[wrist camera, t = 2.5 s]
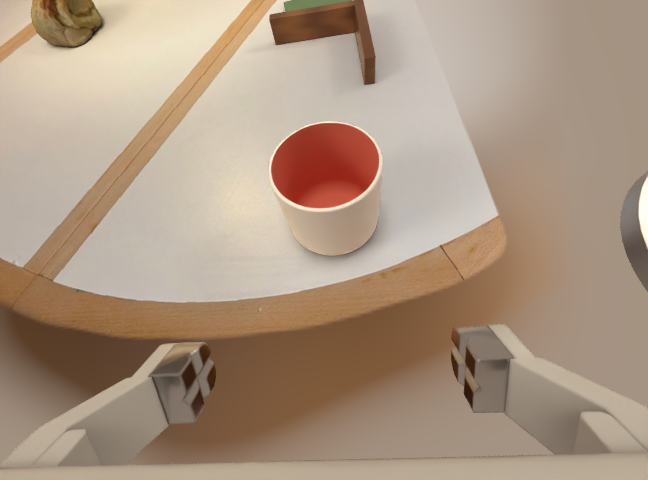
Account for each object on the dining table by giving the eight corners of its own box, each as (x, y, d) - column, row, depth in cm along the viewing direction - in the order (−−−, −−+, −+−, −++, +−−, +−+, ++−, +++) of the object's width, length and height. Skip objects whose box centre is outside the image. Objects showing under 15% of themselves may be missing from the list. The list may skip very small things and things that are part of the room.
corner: (363, 25, 51) (362, -2, 47) (374, 83, 44) (375, 56, 41) (276, 39, 52) (269, 14, 49) (274, 97, 46) (266, 73, 42)
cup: (293, 265, 33) (267, 219, 24) (290, 191, 37) (267, 129, 28) (385, 253, 32) (393, 202, 23) (370, 179, 37) (372, 112, 28)
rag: (345, -10, 57) (345, -14, 56) (357, 15, 53) (357, 11, 52) (284, 5, 57) (283, 2, 56) (291, 31, 53) (290, 28, 52)
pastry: (101, 41, 59) (65, -6, 52) (40, 57, 59) (-4, 12, 52) (109, 5, 66) (78, -41, 59) (54, 20, 66) (17, -25, 59)
